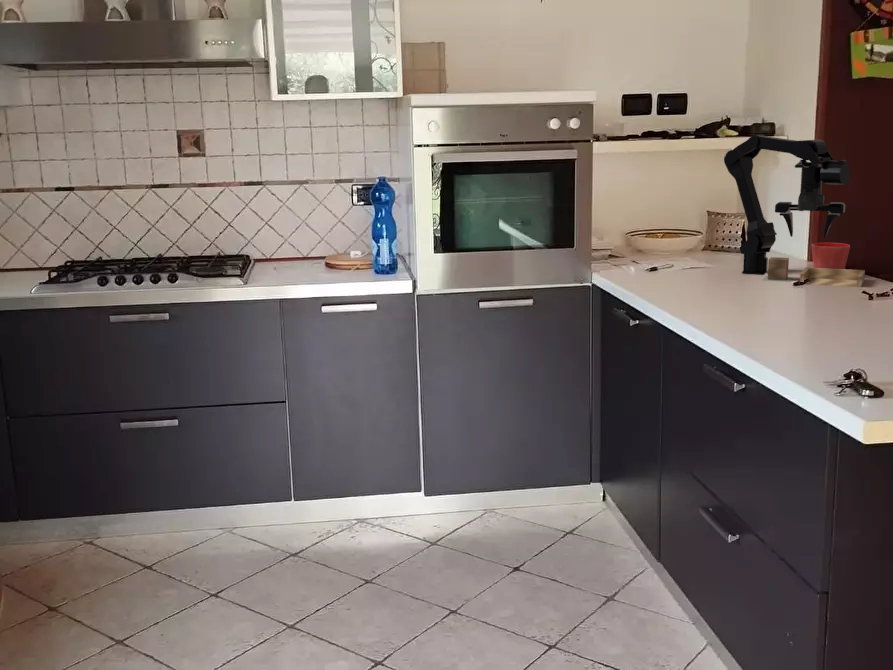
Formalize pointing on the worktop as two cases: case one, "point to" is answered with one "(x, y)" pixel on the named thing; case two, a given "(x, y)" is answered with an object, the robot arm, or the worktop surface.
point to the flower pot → (830, 255)
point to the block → (778, 268)
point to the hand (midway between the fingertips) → (808, 237)
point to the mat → (778, 280)
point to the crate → (833, 277)
